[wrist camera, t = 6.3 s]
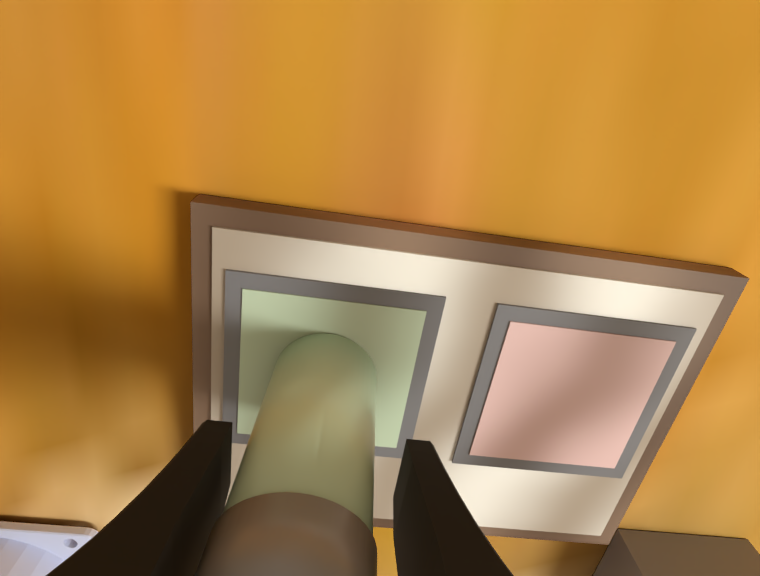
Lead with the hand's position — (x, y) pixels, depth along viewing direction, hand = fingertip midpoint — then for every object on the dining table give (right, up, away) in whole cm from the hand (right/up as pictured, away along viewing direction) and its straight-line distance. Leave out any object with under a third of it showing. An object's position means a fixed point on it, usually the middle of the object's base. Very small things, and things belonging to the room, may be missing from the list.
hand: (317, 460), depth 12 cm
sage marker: (0, +2, +3) cm, 3 cm away
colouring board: (+4, +1, +5) cm, 6 cm away
